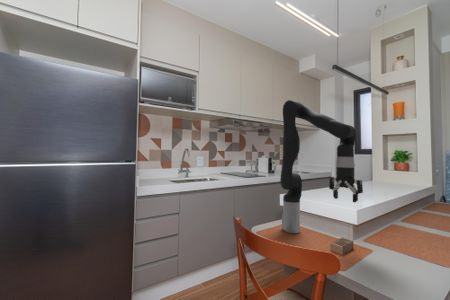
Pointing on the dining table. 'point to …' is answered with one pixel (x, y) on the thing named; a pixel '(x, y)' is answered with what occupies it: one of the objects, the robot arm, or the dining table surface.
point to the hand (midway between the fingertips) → (345, 200)
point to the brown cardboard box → (341, 246)
